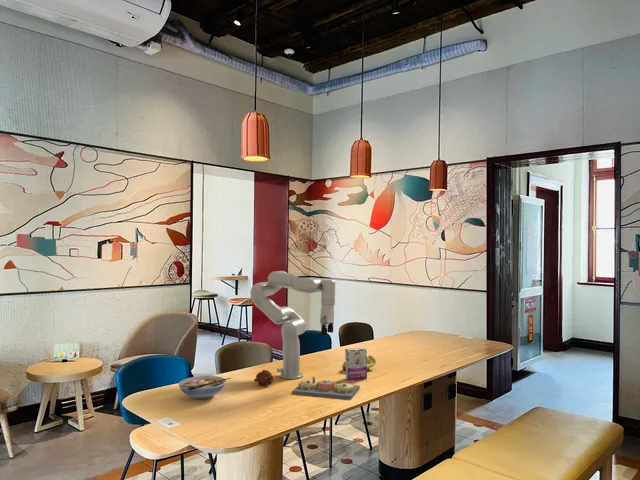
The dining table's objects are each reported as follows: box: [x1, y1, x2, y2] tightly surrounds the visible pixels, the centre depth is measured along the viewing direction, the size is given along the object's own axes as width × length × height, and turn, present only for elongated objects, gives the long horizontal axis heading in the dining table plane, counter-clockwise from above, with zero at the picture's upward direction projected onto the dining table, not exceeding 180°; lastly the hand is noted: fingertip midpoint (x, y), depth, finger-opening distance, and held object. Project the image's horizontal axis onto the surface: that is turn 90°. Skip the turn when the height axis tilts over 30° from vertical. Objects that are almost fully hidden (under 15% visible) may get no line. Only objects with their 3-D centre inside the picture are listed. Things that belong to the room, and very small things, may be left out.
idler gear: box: [317, 379, 336, 390], centre depth 232 cm, size 8×7×3 cm
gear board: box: [291, 376, 361, 400], centre depth 232 cm, size 30×18×6 cm, turn 72°
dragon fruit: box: [253, 369, 274, 387], centre depth 243 cm, size 8×8×12 cm
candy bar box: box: [344, 347, 368, 381], centre depth 255 cm, size 11×5×16 cm, turn 105°
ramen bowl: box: [178, 375, 231, 400], centre depth 224 cm, size 25×23×8 cm
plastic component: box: [341, 354, 377, 371], centre depth 274 cm, size 20×7×10 cm
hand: (327, 333), depth 251 cm, fingers open, 9 cm apart
